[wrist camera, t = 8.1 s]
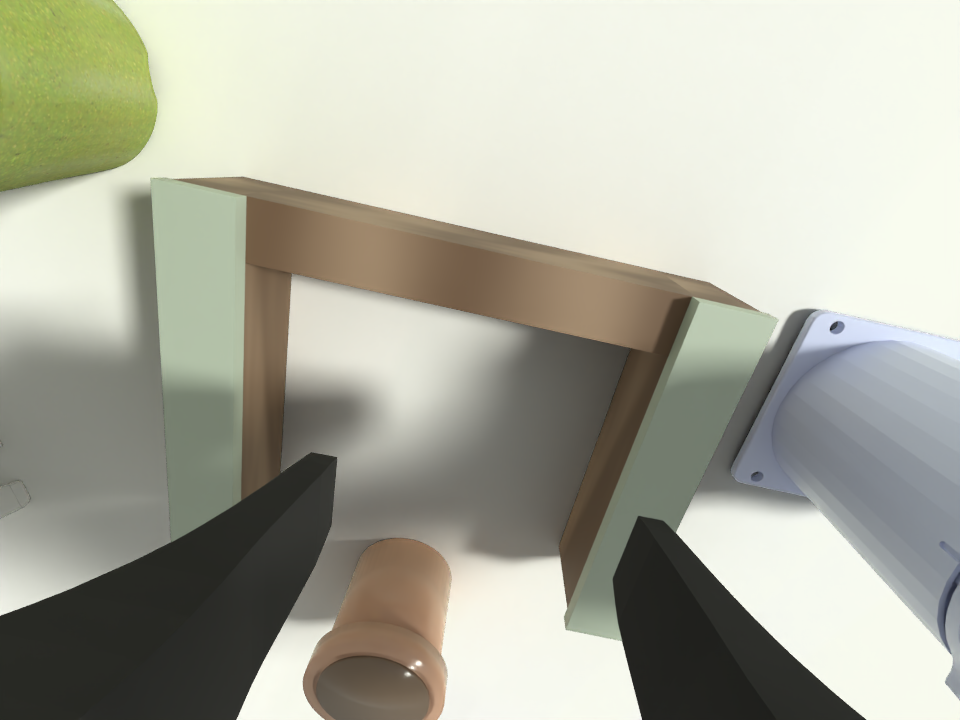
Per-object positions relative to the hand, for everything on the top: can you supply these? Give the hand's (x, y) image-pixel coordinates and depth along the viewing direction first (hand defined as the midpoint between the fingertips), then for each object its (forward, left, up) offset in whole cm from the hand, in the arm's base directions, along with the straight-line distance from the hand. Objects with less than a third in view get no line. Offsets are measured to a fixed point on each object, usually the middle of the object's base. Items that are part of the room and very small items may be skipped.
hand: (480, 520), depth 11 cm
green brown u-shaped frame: (+2, +3, -9) cm, 10 cm away
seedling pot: (+2, +13, -9) cm, 16 cm away
